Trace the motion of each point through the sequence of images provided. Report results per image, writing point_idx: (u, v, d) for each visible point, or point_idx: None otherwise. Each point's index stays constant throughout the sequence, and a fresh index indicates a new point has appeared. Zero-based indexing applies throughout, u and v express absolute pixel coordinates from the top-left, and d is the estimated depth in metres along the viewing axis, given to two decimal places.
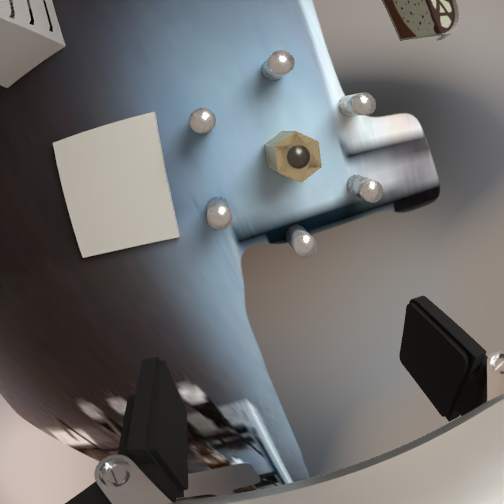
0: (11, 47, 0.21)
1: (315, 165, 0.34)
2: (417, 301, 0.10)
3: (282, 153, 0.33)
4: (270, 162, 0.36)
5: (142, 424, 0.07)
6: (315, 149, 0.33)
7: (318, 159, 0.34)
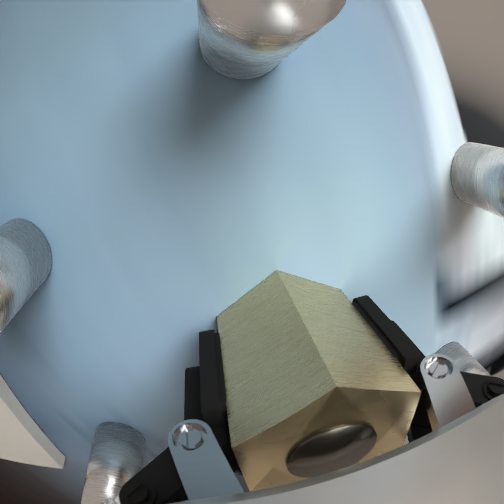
0: None
1: (384, 451, 0.08)
2: (358, 300, 0.11)
3: (267, 458, 0.07)
4: None
5: (212, 388, 0.08)
6: (400, 416, 0.07)
7: (400, 436, 0.08)
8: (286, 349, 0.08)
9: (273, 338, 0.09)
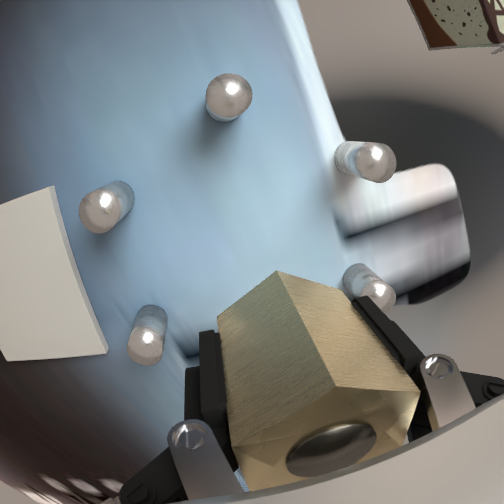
0: None
1: (384, 450, 0.08)
2: (358, 300, 0.11)
3: (267, 457, 0.07)
4: None
5: (212, 388, 0.08)
6: (399, 416, 0.07)
7: (399, 435, 0.08)
8: (286, 349, 0.08)
9: (273, 338, 0.09)
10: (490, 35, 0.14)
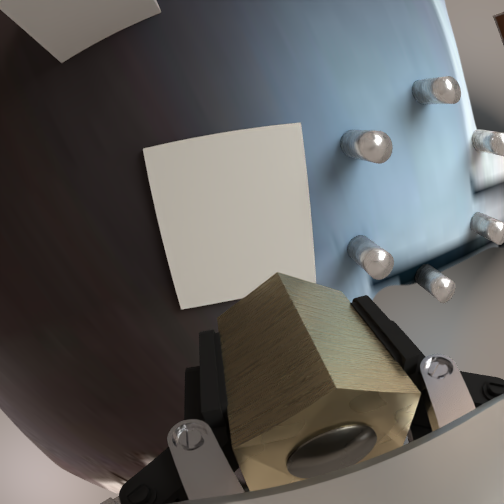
0: None
1: (384, 452, 0.08)
2: (358, 300, 0.11)
3: (268, 458, 0.07)
4: None
5: (212, 388, 0.08)
6: (400, 418, 0.07)
7: (400, 437, 0.08)
8: (287, 351, 0.08)
9: (274, 340, 0.09)
10: None
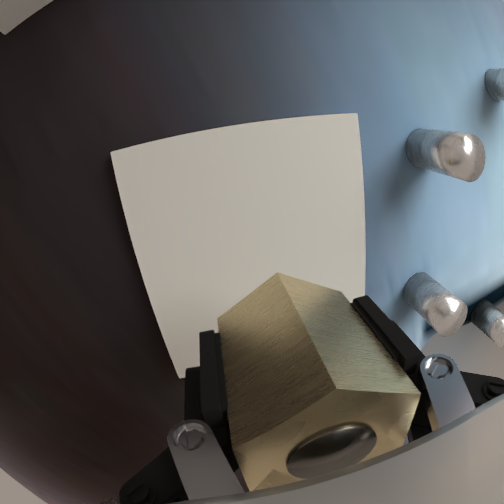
0: None
1: (384, 452, 0.08)
2: (358, 300, 0.11)
3: (268, 459, 0.07)
4: None
5: (212, 388, 0.08)
6: (400, 418, 0.07)
7: (400, 437, 0.08)
8: (286, 351, 0.08)
9: (273, 340, 0.09)
10: None
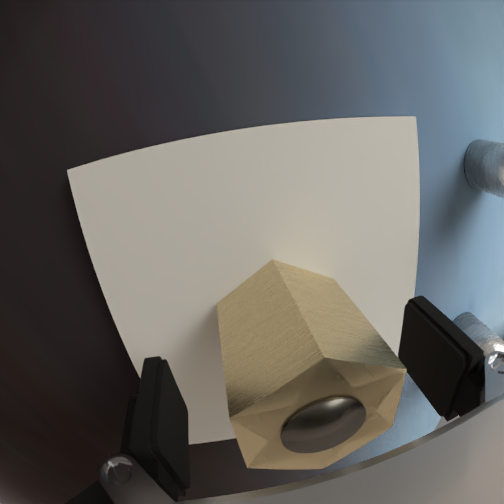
0: None
1: (375, 429, 0.09)
2: (415, 301, 0.10)
3: (263, 430, 0.08)
4: None
5: (144, 423, 0.07)
6: (388, 393, 0.08)
7: (389, 414, 0.08)
8: (280, 328, 0.09)
9: (268, 319, 0.10)
10: None
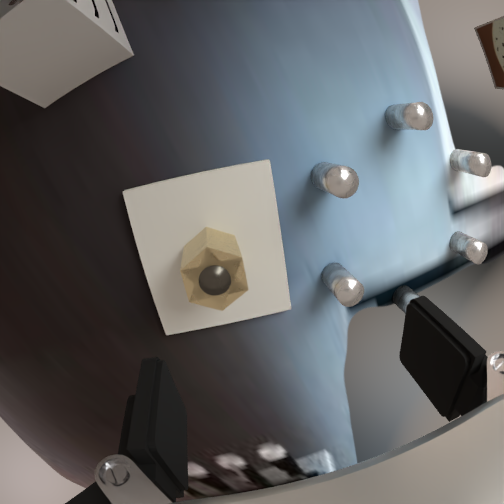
0: (63, 50, 0.17)
1: (239, 288, 0.26)
2: (417, 301, 0.10)
3: (191, 278, 0.25)
4: None
5: (142, 424, 0.07)
6: (237, 268, 0.25)
7: (243, 280, 0.26)
8: (200, 244, 0.26)
9: (198, 243, 0.27)
10: None
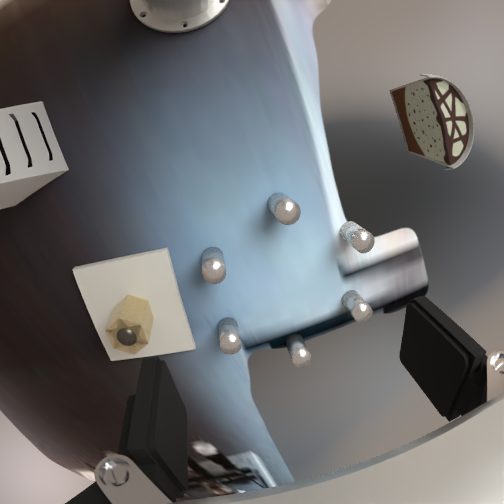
0: (14, 190, 0.27)
1: (142, 342, 0.37)
2: (417, 301, 0.10)
3: (112, 334, 0.36)
4: None
5: (142, 424, 0.07)
6: (139, 330, 0.36)
7: (144, 338, 0.36)
8: (118, 312, 0.37)
9: (118, 310, 0.38)
10: (445, 158, 0.32)
